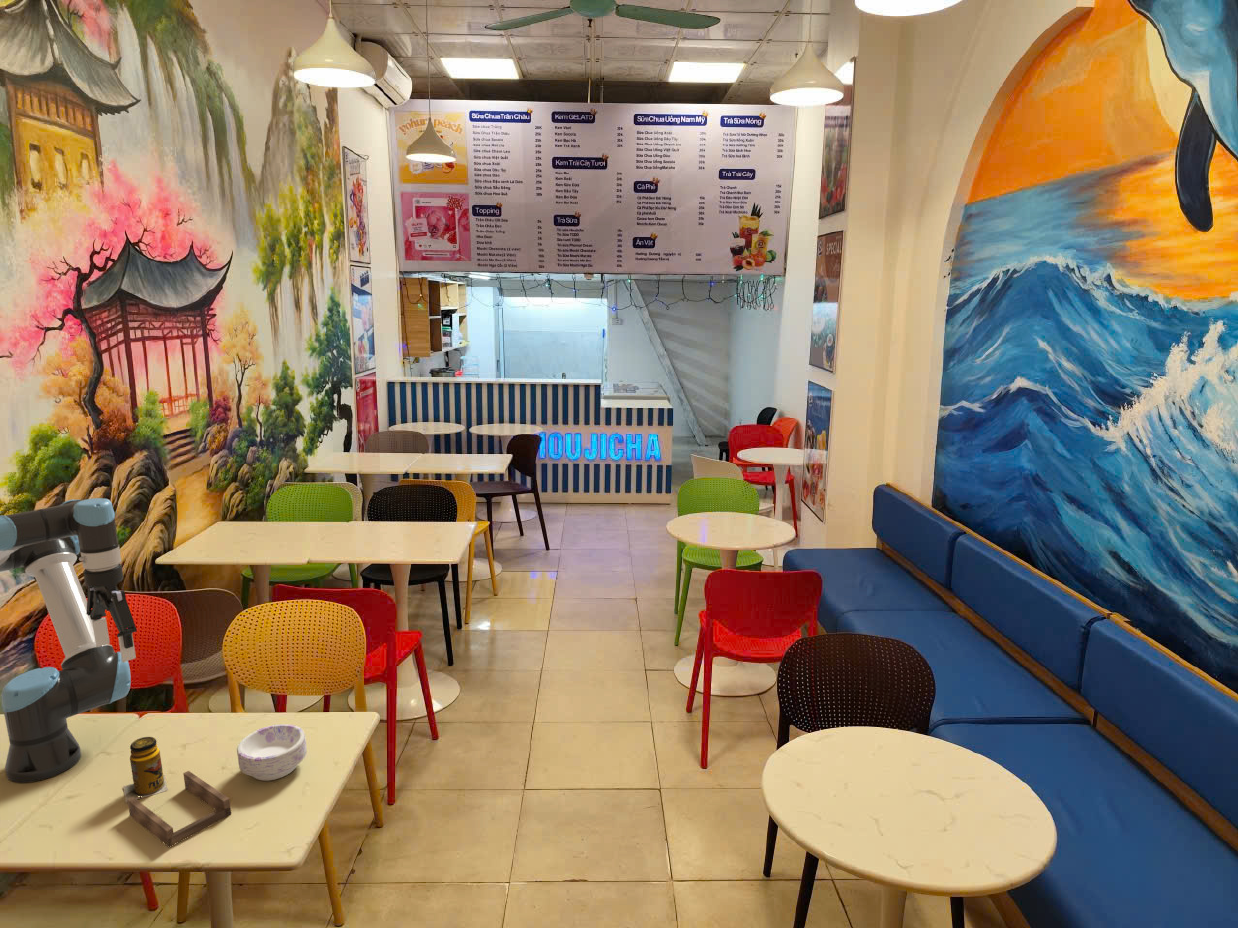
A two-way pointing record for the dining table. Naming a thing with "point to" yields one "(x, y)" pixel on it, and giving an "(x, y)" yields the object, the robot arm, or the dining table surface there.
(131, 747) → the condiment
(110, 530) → the robot arm
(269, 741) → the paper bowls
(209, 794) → the walnut shelf lane
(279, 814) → the dining table surface
